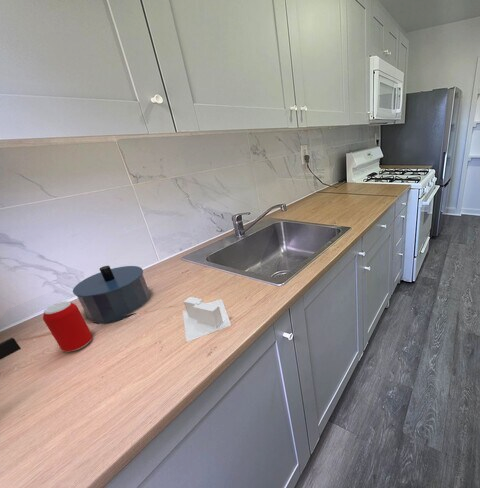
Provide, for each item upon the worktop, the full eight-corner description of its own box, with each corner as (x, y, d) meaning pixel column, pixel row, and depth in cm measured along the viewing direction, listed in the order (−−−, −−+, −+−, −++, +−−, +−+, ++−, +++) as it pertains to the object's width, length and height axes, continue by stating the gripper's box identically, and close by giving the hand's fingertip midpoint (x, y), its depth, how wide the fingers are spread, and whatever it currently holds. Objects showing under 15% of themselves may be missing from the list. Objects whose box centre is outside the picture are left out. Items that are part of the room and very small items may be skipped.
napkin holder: (232, 324, 72) (227, 307, 69) (186, 342, 66) (180, 324, 64) (221, 298, 84) (217, 282, 81) (181, 311, 78) (176, 295, 76)
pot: (79, 330, 73) (63, 301, 70) (102, 299, 87) (91, 274, 83) (143, 315, 78) (132, 288, 74) (156, 288, 91) (147, 264, 88)
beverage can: (93, 333, 72) (74, 296, 67) (94, 345, 67) (73, 306, 63) (63, 344, 68) (41, 306, 64) (62, 358, 64) (38, 318, 59)
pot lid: (61, 305, 69) (52, 288, 67) (90, 275, 84) (83, 261, 82) (134, 290, 74) (127, 274, 72) (150, 264, 88) (145, 251, 86)
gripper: (-201, 420, 44) (-14, 334, 62) (-170, 490, 34) (40, 364, 52) (-243, 389, 41) (-34, 307, 59) (-222, 457, 31) (20, 335, 49)
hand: (1, 334), depth 55 cm, fingers open, 13 cm apart
